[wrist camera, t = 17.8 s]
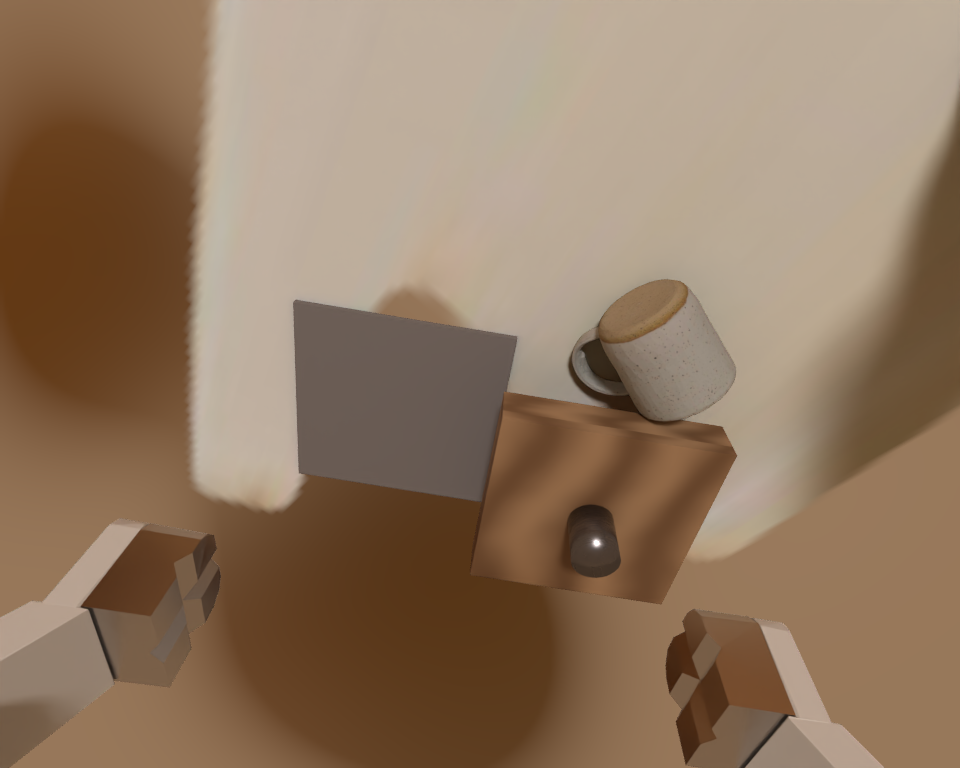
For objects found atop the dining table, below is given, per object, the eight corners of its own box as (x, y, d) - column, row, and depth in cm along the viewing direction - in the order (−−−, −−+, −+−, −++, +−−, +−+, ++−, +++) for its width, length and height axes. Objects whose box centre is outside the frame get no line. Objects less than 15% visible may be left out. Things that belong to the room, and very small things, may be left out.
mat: (517, 336, 45) (517, 339, 44) (483, 498, 54) (482, 502, 54) (295, 299, 45) (293, 302, 44) (300, 469, 54) (298, 472, 54)
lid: (722, 426, 43) (756, 494, 36) (653, 572, 52) (671, 646, 45) (504, 391, 42) (500, 453, 36) (472, 544, 51) (465, 615, 45)
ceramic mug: (674, 258, 41) (700, 300, 34) (720, 341, 44) (752, 394, 37) (550, 329, 45) (552, 380, 38) (601, 401, 48) (611, 459, 41)
